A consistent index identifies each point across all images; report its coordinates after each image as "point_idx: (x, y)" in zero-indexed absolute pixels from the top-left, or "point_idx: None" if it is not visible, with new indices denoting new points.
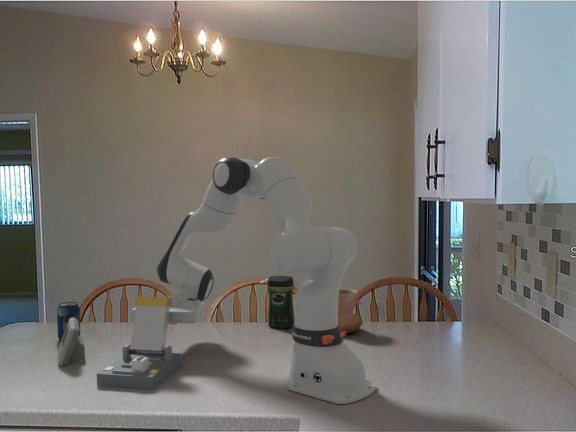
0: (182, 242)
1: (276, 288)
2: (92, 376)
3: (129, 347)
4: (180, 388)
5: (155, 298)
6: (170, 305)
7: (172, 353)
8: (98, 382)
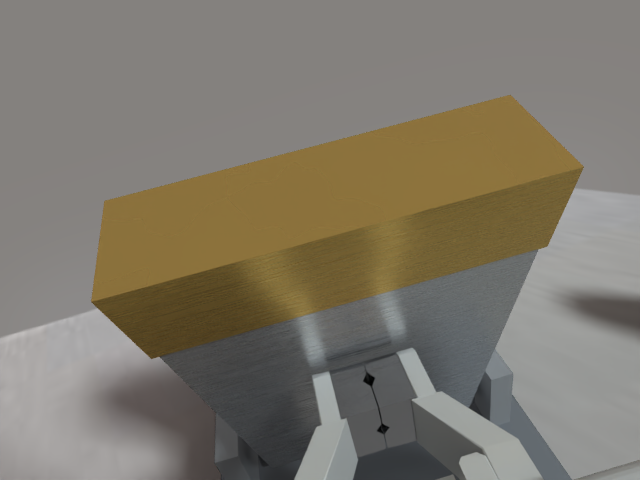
0: None
1: None
2: (522, 324)
3: (483, 379)
4: (147, 390)
5: (266, 170)
6: (141, 349)
7: None
8: None
